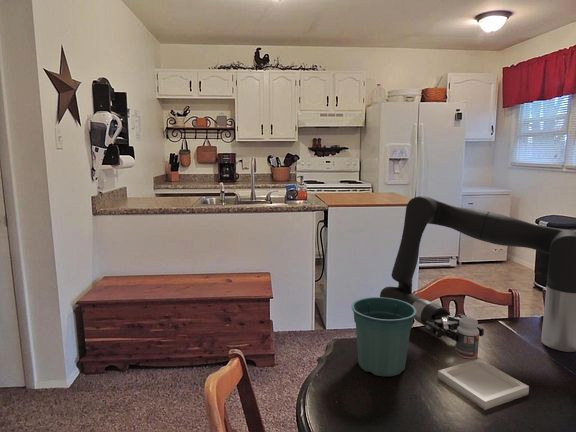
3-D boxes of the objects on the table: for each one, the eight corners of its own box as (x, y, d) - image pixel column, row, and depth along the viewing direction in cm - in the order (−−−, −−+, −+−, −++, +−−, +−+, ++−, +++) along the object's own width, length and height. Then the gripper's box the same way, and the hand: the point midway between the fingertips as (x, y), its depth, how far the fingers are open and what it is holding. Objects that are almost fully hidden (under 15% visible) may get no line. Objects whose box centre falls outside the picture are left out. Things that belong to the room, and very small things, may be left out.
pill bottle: (479, 360, 111) (482, 325, 109) (457, 358, 112) (459, 324, 111) (474, 350, 117) (477, 317, 115) (453, 348, 118) (455, 315, 116)
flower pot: (361, 345, 120) (362, 292, 117) (419, 358, 112) (422, 302, 110) (341, 371, 106) (342, 312, 103) (405, 389, 98) (408, 325, 95)
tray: (478, 365, 108) (479, 358, 108) (528, 394, 95) (529, 386, 95) (437, 377, 103) (438, 370, 102) (484, 410, 90) (485, 401, 90)
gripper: (411, 306, 124) (452, 327, 109) (447, 299, 129) (491, 318, 114) (410, 329, 125) (450, 353, 110) (446, 321, 130) (489, 343, 116)
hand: (471, 335), depth 112 cm, fingers open, 8 cm apart
